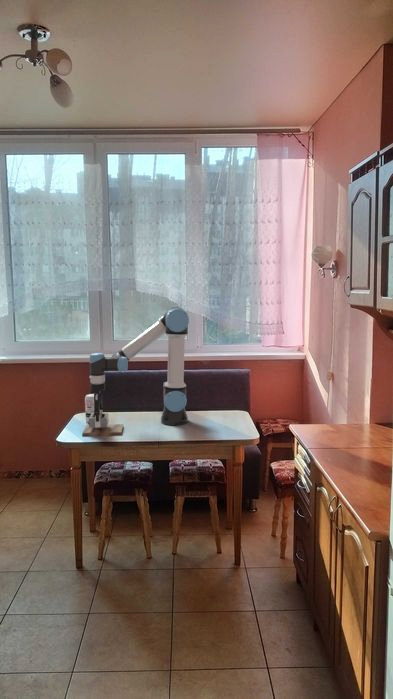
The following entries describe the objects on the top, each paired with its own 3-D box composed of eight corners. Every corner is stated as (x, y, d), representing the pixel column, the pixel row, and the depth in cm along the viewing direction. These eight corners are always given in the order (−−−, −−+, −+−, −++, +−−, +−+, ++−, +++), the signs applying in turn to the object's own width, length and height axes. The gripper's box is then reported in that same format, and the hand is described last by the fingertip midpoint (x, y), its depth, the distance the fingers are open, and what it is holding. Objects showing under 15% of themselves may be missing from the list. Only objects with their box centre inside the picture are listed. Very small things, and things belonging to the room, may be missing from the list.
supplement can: (100, 418, 289) (99, 393, 287) (100, 422, 281) (99, 396, 279) (86, 419, 288) (85, 393, 286) (85, 423, 280) (84, 397, 278)
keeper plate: (123, 426, 273) (122, 409, 271) (121, 434, 259) (120, 417, 258) (86, 427, 272) (85, 410, 270) (82, 436, 258) (81, 418, 256)
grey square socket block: (108, 422, 269) (108, 413, 269) (106, 427, 260) (106, 417, 260) (91, 422, 269) (91, 413, 268) (89, 427, 260) (88, 418, 259)
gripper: (93, 378, 272) (94, 418, 275) (87, 387, 250) (88, 430, 254) (107, 378, 272) (108, 418, 276) (102, 387, 251) (103, 430, 254)
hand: (99, 424), depth 265 cm, fingers closed on grey square socket block, 9 cm apart
